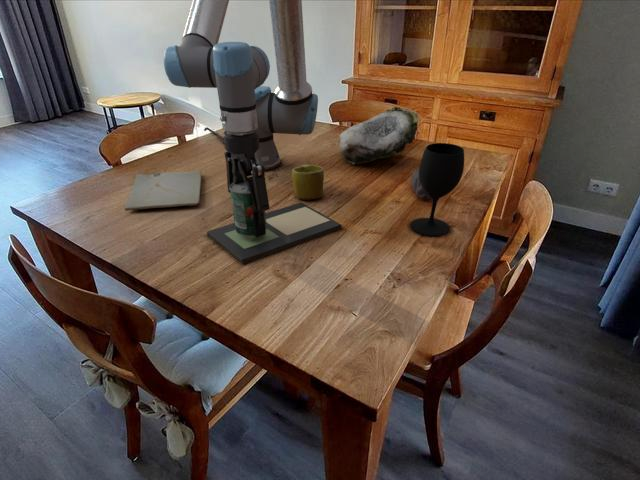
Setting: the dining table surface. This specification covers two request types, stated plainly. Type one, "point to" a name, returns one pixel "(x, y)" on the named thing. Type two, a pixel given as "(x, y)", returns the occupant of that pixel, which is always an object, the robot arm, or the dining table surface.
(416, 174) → the perforated stone tool
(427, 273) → the dining table surface
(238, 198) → the canned tomato
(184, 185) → the decorative slab
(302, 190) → the mug
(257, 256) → the black board
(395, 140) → the stone basin
